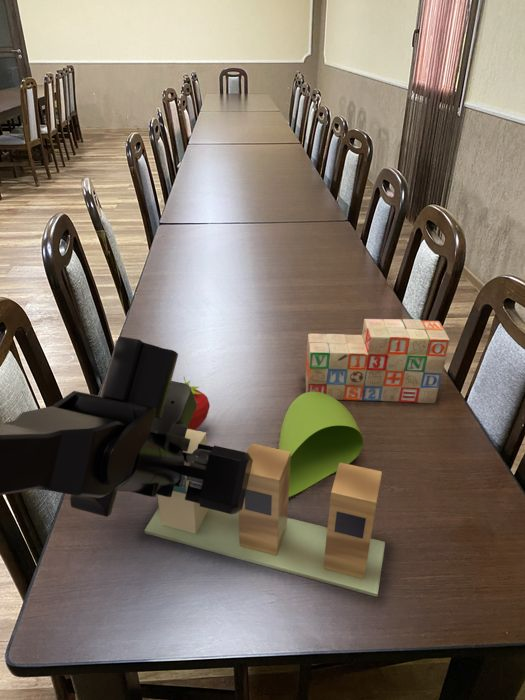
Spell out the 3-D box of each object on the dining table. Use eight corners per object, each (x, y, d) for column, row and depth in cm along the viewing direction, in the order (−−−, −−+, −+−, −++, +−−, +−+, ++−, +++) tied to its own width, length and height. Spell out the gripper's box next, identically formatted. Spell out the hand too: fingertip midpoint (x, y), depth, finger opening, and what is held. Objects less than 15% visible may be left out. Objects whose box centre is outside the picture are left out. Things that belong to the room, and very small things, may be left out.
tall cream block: (195, 534, 64) (189, 459, 58) (160, 525, 65) (151, 450, 59) (210, 506, 68) (206, 432, 62) (177, 497, 69) (169, 424, 63)
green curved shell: (372, 448, 65) (341, 368, 83) (272, 466, 65) (263, 383, 83) (378, 497, 68) (347, 410, 86) (283, 514, 69) (272, 424, 87)
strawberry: (163, 422, 83) (157, 368, 78) (212, 422, 84) (209, 368, 78) (158, 448, 78) (151, 392, 73) (210, 447, 78) (207, 391, 73)
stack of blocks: (306, 400, 89) (310, 335, 82) (304, 378, 94) (308, 316, 88) (436, 403, 88) (450, 338, 82) (427, 381, 94) (440, 319, 87)
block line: (377, 597, 58) (392, 516, 52) (144, 533, 65) (132, 455, 59) (384, 545, 64) (399, 466, 57) (170, 491, 71) (162, 416, 65)
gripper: (246, 393, 49) (276, 417, 64) (70, 359, 54) (136, 389, 68) (217, 517, 47) (256, 513, 61) (35, 471, 51) (111, 477, 66)
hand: (187, 468), depth 64 cm, fingers closed on tall cream block, 4 cm apart
